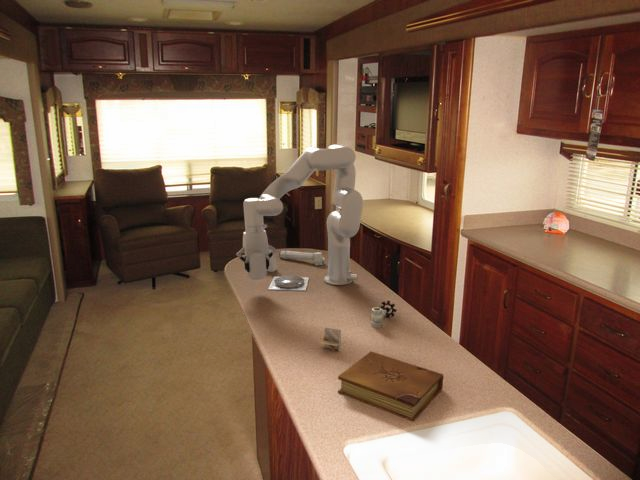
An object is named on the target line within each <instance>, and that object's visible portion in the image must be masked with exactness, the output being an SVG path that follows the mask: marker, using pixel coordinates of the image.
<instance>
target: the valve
mask: <svg viewBox="0 0 640 480" xmlns="http://www.w3.org/2000/svg"><path fill="white" fill-rule="evenodd" d="M395 306H396V304H395V303H392V304H391V300H389V299H388V300H387V301H382V302H381V305H380V306H379V307H377V306H376V307H375V306H374V307H372V309H371V316H370V320H371V322H370V323H371V327H372V328H373V329H380V328H381V327H382V326H383V319H384V318H385V317H386V318H390V316H391V317H394V316H395V313H397V311H398V310H397V308H395ZM390 311H391V312H390Z"/></svg>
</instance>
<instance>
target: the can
mask: <svg viewBox="0 0 640 480" xmlns="http://www.w3.org/2000/svg"><path fill="white" fill-rule="evenodd" d="M262 252H263V251H261V252H253V254H252V255H251V256H250V257H249V260H248V263H249V270H250V272H248V277H249V278H250V279H251V280H254V281H255V280H263V279H265V278H266V276H267V274H268V271H267V270H266V257H265V254H264V253H262Z"/></svg>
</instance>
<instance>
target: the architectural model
mask: <svg viewBox="0 0 640 480" xmlns="http://www.w3.org/2000/svg"><path fill="white" fill-rule="evenodd" d="M341 331H342V329H338V328H332V327H326V326H325V327H324V336H323V337H320V338H319V339H318V340H317V343H318V344H323V345H324V348H327V349H331V350H332V352H335V350H338V353H340V352H341V351H342V339H341V338H342V337H341V335H342V332H341Z"/></svg>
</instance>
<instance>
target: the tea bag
mask: <svg viewBox="0 0 640 480" xmlns="http://www.w3.org/2000/svg"><path fill="white" fill-rule="evenodd" d="M270 251H271V249H269V252H270ZM275 252H276V251H275ZM275 252H274V253H273V255H272V257H271V258H270V260H269V265H270V266H269V267H268V268H269V269H266V270H267V272H271V273H273V272H275V271H276V270H277V255H276V253H275ZM268 254H269V253H268Z"/></svg>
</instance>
